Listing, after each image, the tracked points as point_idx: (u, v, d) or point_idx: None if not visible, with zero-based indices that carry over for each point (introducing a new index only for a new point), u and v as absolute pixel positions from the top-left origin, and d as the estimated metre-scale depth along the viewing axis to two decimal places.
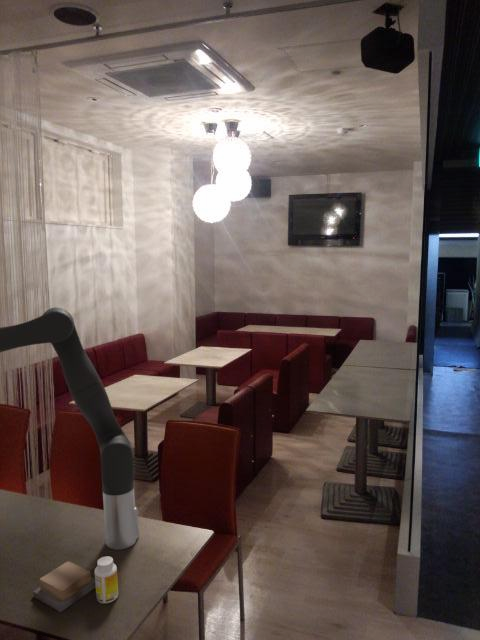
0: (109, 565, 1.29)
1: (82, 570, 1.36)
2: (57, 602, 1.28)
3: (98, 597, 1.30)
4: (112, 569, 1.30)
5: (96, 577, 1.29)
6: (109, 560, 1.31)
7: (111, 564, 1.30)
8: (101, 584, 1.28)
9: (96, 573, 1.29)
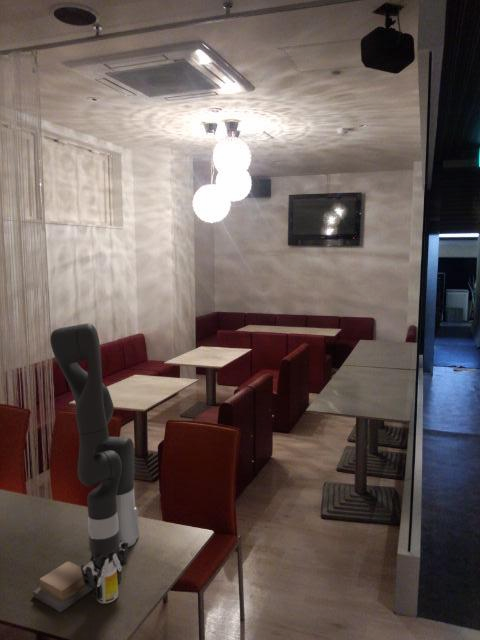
0: (109, 565, 1.29)
1: None
2: (57, 602, 1.28)
3: None
4: (112, 569, 1.30)
5: (96, 577, 1.29)
6: None
7: (111, 564, 1.30)
8: (101, 584, 1.28)
9: None
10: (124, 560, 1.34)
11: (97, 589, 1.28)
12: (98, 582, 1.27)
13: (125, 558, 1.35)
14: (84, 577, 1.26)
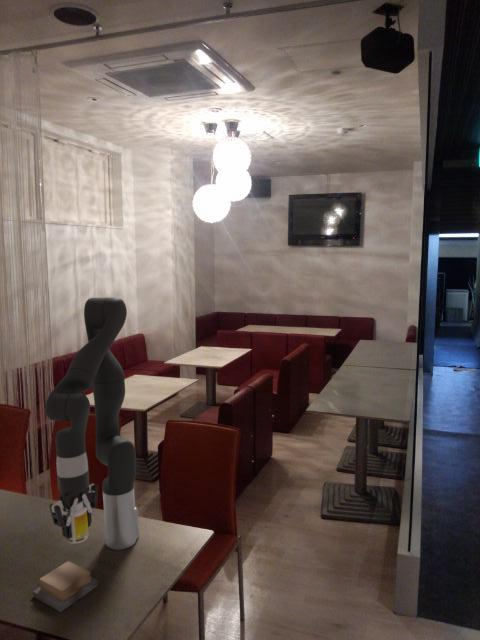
0: (79, 505, 1.29)
1: (82, 570, 1.36)
2: (57, 602, 1.28)
3: None
4: (82, 509, 1.30)
5: None
6: None
7: (81, 504, 1.30)
8: (71, 524, 1.28)
9: None
10: (94, 502, 1.34)
11: (66, 529, 1.27)
12: (67, 521, 1.27)
13: (95, 500, 1.34)
14: (53, 516, 1.25)
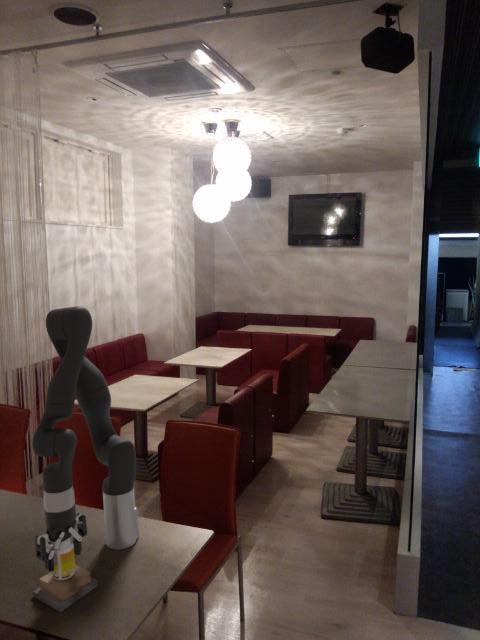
0: (65, 542, 1.32)
1: (82, 570, 1.36)
2: (57, 602, 1.28)
3: (54, 574, 1.32)
4: (68, 547, 1.32)
5: None
6: None
7: (67, 542, 1.32)
8: (57, 561, 1.31)
9: None
10: (84, 531, 1.37)
11: (49, 562, 1.29)
12: (50, 555, 1.28)
13: (85, 529, 1.37)
14: (37, 548, 1.27)
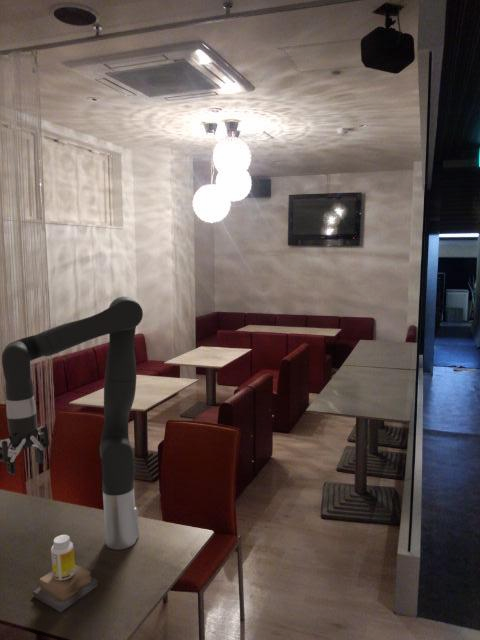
0: (65, 543, 1.32)
1: (82, 570, 1.36)
2: (57, 602, 1.28)
3: (54, 574, 1.32)
4: (68, 547, 1.32)
5: (52, 554, 1.31)
6: (65, 538, 1.33)
7: (67, 542, 1.32)
8: (57, 561, 1.31)
9: (52, 550, 1.31)
10: (46, 442, 1.48)
11: (11, 465, 1.40)
12: (11, 458, 1.39)
13: (46, 440, 1.49)
14: None
